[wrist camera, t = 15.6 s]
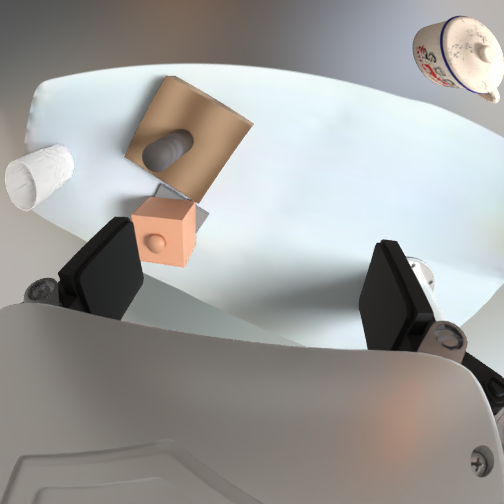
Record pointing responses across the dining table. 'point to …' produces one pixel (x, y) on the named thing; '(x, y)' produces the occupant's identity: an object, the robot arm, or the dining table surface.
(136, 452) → the robot arm
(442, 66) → the teacup with lid
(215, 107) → the post base
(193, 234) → the peach cube
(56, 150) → the white cup
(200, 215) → the coaster
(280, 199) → the dining table surface
